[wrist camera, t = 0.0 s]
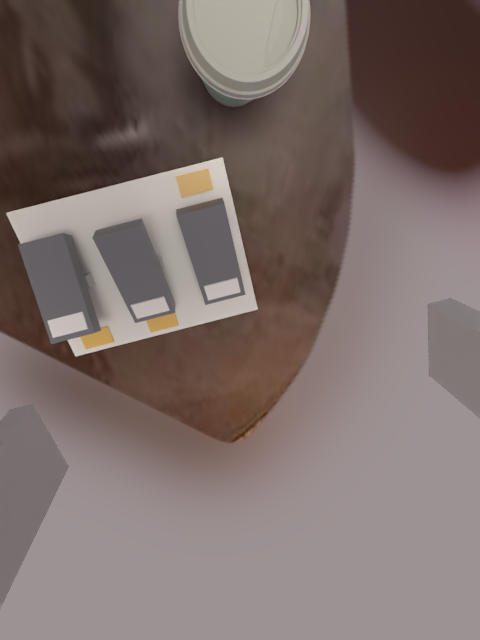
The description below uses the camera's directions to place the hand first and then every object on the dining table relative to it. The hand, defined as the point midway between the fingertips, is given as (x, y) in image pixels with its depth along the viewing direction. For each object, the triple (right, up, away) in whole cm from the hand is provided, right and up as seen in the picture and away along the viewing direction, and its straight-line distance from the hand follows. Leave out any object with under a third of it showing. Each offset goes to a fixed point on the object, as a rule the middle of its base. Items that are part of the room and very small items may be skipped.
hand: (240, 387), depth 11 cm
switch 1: (-16, +5, +20) cm, 26 cm away
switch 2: (-9, +7, +20) cm, 23 cm away
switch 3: (-3, +9, +20) cm, 22 cm away
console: (-10, +9, +26) cm, 29 cm away
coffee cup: (-1, +25, +20) cm, 33 cm away
